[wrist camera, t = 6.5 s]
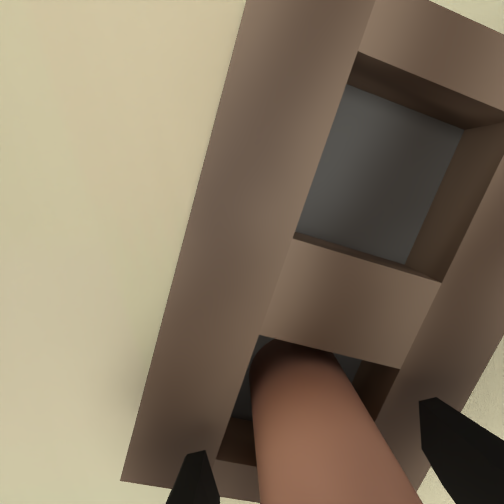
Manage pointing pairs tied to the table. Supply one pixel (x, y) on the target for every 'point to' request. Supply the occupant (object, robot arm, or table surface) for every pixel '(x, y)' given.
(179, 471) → the robot arm
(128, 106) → the table surface
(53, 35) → the table surface
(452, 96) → the peg block
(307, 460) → the pin
